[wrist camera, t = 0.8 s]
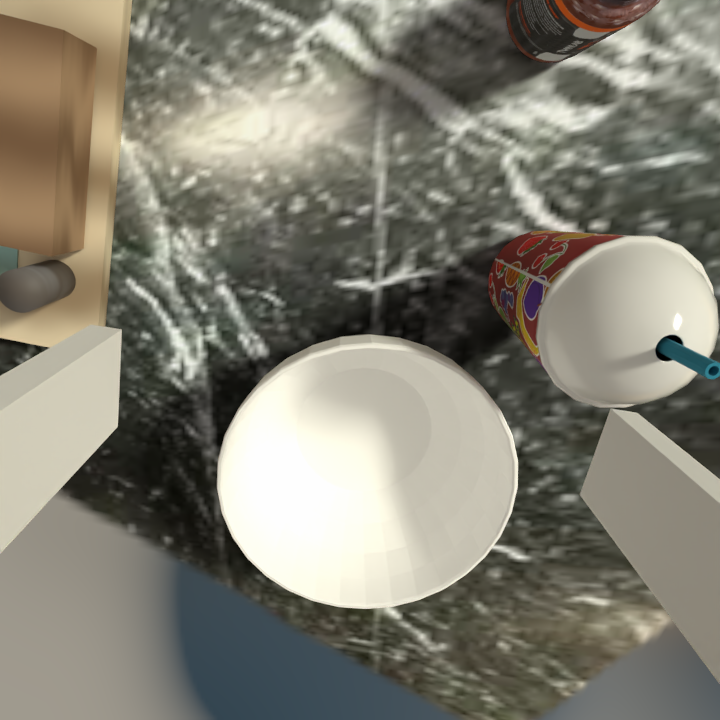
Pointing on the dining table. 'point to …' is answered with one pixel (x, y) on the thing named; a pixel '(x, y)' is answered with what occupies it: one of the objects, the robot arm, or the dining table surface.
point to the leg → (44, 136)
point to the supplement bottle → (568, 24)
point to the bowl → (367, 472)
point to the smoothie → (608, 313)
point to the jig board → (92, 264)
